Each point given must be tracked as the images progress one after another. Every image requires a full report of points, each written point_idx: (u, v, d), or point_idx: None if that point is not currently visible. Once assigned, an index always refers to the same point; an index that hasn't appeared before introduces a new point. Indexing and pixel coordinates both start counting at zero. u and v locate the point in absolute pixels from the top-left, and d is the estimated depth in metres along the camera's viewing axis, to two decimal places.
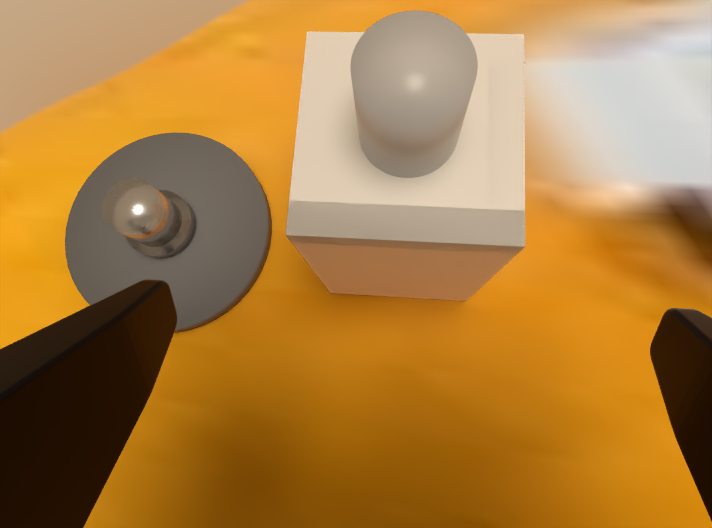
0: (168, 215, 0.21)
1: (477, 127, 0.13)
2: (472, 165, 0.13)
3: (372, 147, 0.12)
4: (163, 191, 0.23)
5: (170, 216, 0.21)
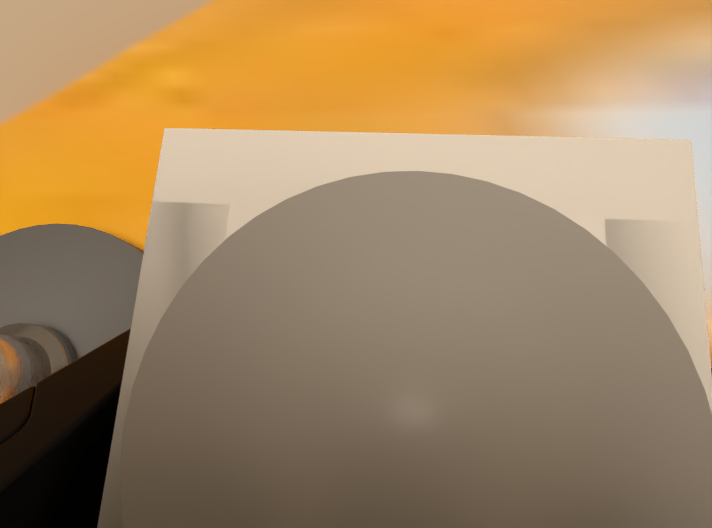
0: (15, 383, 0.13)
1: None
2: None
3: None
4: (25, 325, 0.14)
5: (21, 381, 0.13)
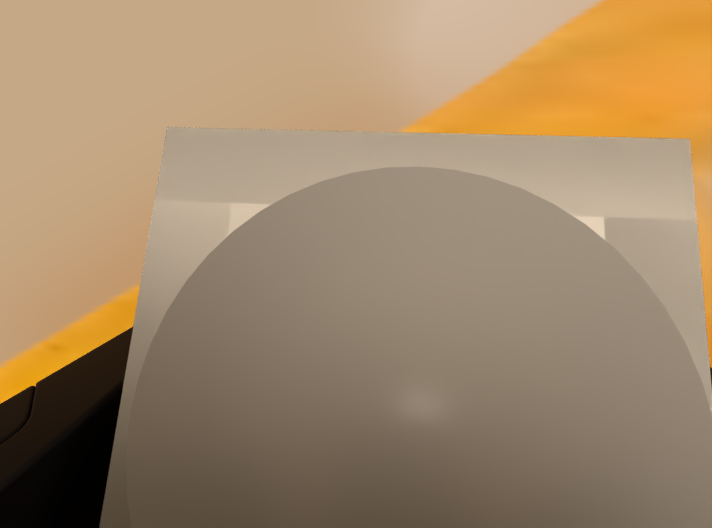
0: None
1: None
2: None
3: None
4: None
5: None
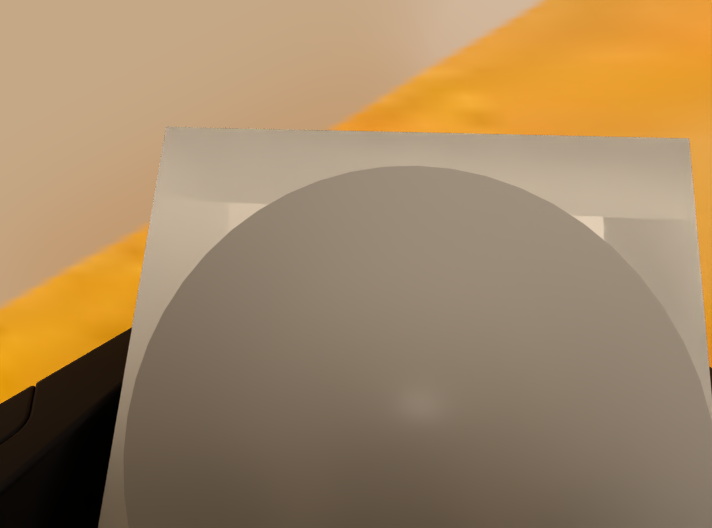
0: None
1: None
2: None
3: None
4: None
5: None
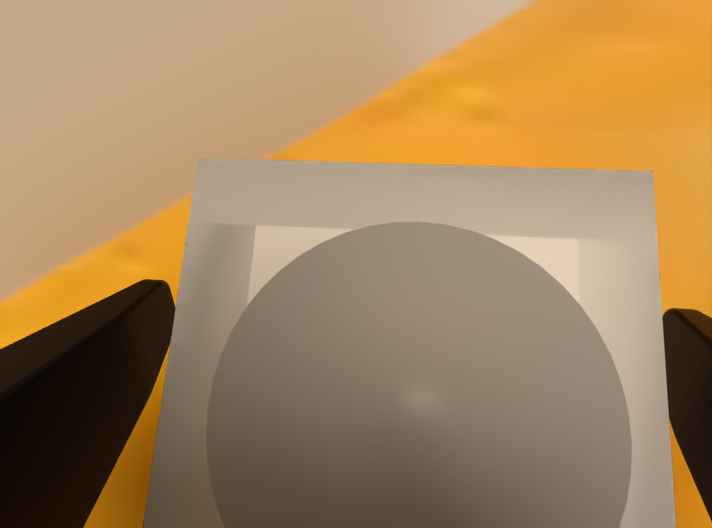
0: None
1: None
2: None
3: None
4: None
5: None
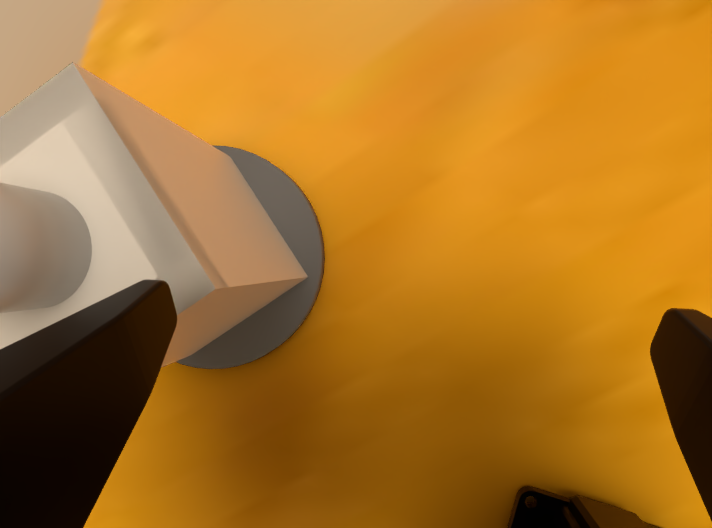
0: None
1: (95, 198, 0.11)
2: (117, 241, 0.11)
3: None
4: None
5: None
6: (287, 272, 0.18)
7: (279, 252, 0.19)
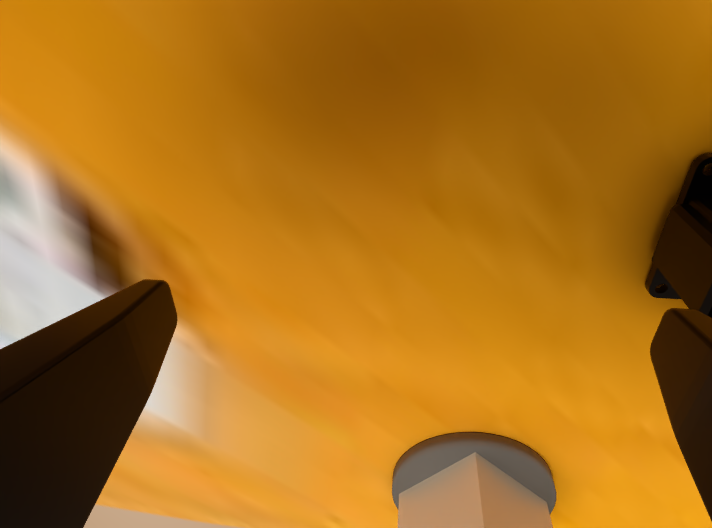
0: None
1: None
2: None
3: None
4: None
5: None
6: (476, 502, 0.25)
7: (462, 495, 0.26)
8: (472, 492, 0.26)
